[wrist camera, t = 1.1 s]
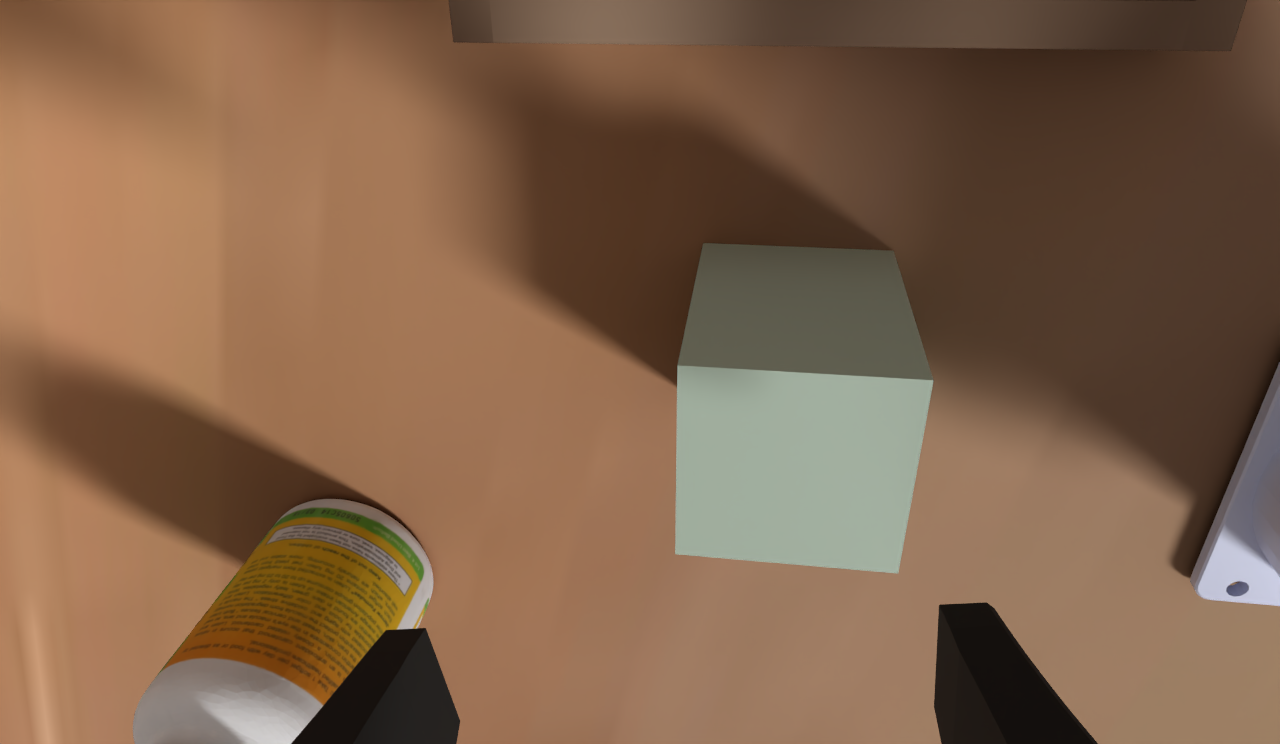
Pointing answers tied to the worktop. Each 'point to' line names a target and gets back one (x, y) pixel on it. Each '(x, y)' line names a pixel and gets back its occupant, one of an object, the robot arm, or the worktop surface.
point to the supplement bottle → (288, 628)
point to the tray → (857, 23)
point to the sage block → (799, 408)
